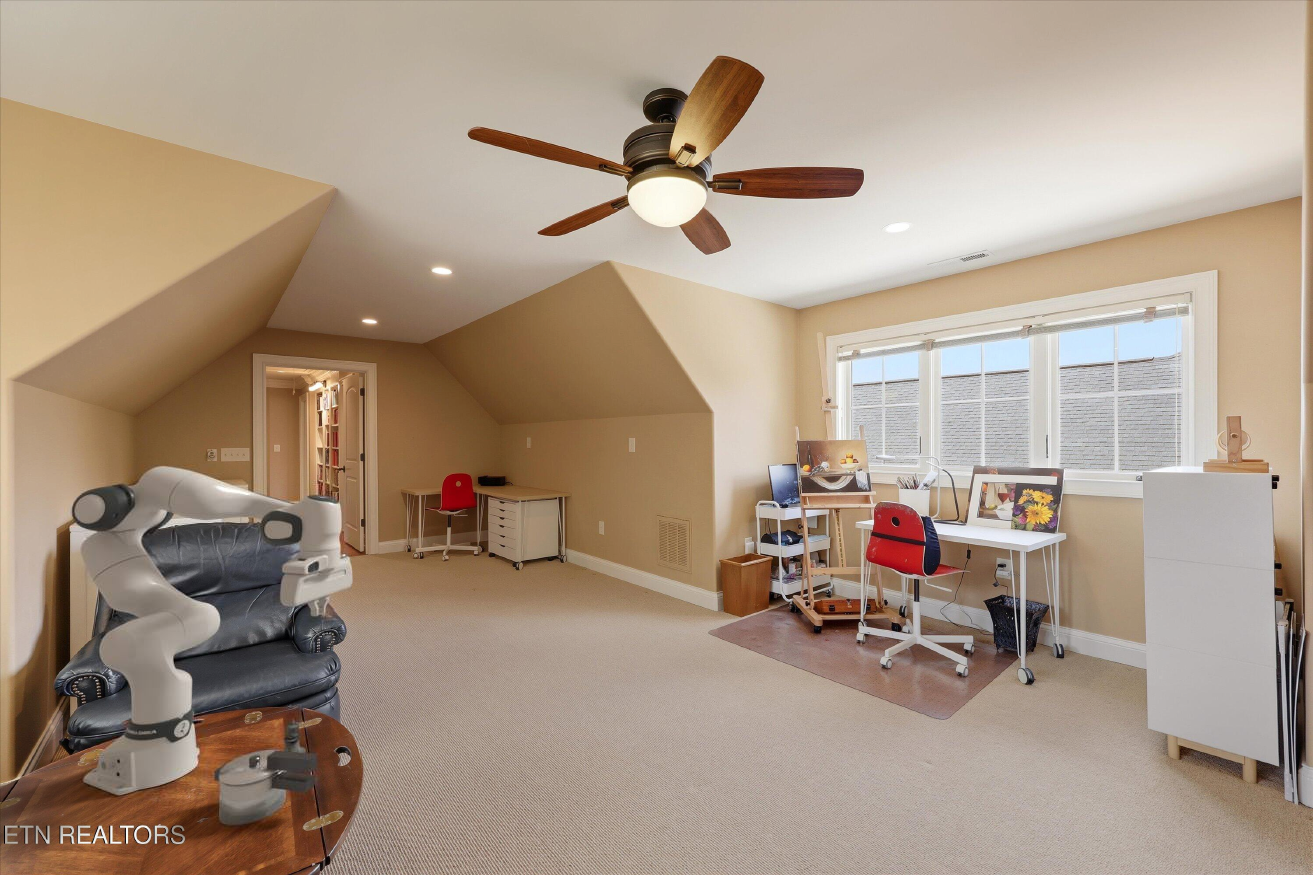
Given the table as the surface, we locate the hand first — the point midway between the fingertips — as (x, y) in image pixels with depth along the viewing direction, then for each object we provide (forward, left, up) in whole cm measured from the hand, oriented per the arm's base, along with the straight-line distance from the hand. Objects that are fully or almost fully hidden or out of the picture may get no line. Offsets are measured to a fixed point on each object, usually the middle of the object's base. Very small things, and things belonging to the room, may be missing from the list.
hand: (318, 614), depth 143 cm
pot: (+2, -17, -37) cm, 41 cm away
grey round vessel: (-4, -2, -38) cm, 38 cm away
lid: (+4, -17, -29) cm, 34 cm away
